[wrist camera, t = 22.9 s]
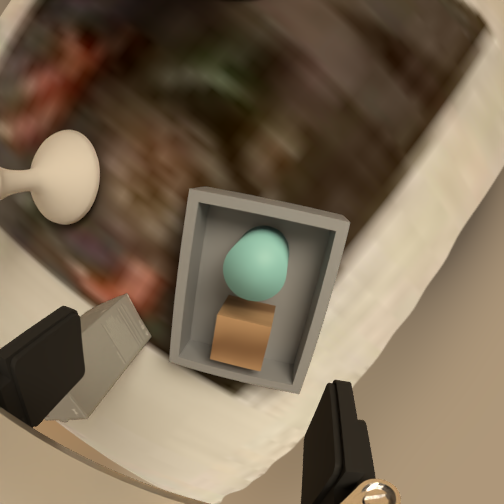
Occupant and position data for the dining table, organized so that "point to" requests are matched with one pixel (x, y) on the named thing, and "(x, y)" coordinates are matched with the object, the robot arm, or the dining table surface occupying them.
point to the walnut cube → (242, 332)
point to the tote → (286, 301)
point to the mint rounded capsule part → (257, 264)
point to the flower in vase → (58, 177)
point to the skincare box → (103, 355)
